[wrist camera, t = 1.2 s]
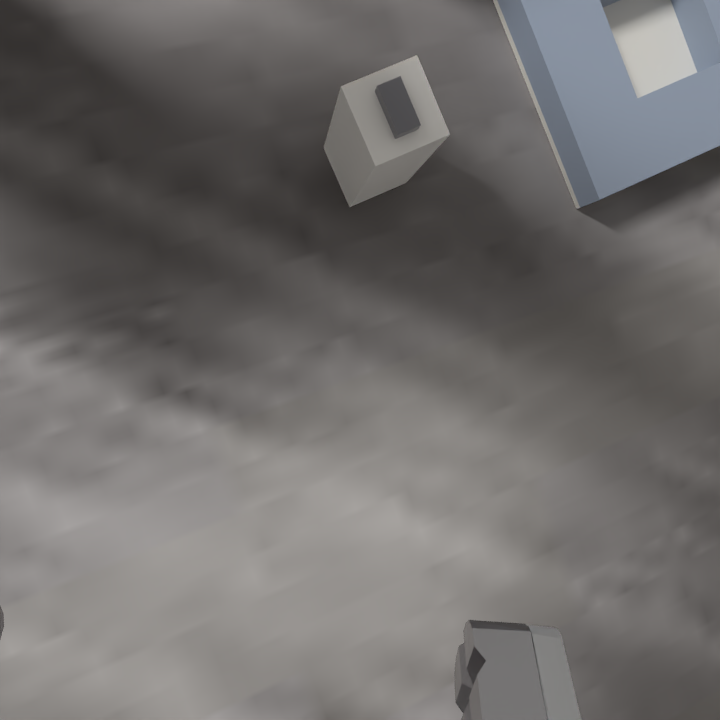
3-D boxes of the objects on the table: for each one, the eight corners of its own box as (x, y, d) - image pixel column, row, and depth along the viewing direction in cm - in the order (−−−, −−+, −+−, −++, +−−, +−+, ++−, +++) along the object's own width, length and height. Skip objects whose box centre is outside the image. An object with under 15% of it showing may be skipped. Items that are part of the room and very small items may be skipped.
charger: (323, 147, 39) (342, 80, 29) (380, 123, 40) (420, 48, 29) (349, 207, 40) (377, 162, 29) (406, 182, 40) (454, 129, 29)
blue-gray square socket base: (483, -24, 40) (500, -52, 37) (694, -108, 42) (726, -141, 39) (576, 209, 42) (599, 199, 39) (775, 118, 43) (812, 103, 40)
